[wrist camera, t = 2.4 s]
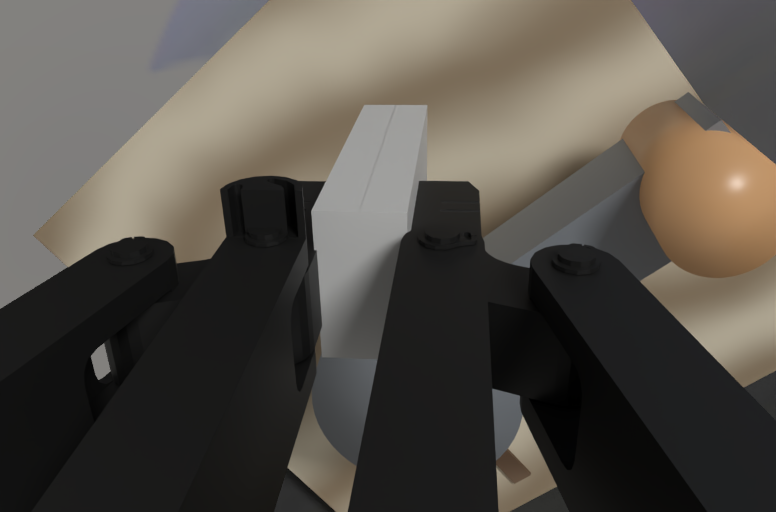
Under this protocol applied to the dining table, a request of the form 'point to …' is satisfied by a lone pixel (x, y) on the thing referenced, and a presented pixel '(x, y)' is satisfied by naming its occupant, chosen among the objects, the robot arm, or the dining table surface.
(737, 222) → the uneven dumbbell rattle
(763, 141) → the dining table surface
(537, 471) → the base board
